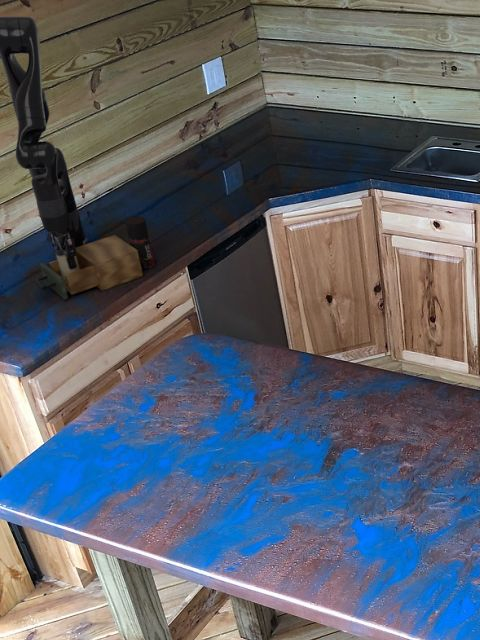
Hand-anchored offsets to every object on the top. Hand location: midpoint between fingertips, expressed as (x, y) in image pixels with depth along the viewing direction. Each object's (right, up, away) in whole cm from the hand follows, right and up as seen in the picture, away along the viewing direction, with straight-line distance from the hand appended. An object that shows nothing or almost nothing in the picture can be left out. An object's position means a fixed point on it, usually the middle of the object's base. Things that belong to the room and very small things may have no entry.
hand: (68, 264), depth 272 cm
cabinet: (+9, -1, +11) cm, 14 cm away
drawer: (-1, -6, +3) cm, 7 cm away
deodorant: (+18, +3, +16) cm, 24 cm away
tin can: (0, -4, +3) cm, 6 cm away
